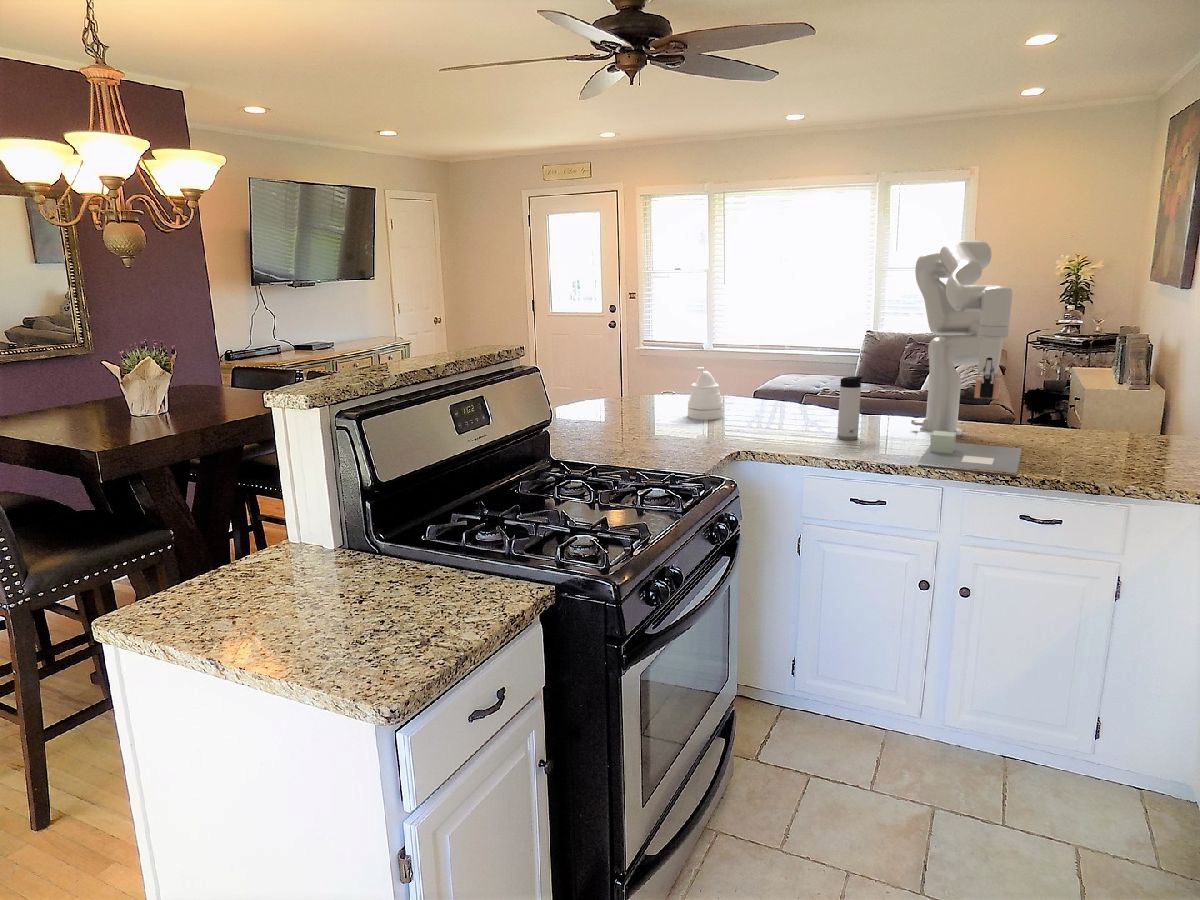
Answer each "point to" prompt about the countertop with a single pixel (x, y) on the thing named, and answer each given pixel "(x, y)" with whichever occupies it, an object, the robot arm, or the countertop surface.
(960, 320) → the robot arm
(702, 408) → the honey pot
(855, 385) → the travel mug
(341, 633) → the countertop surface
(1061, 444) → the countertop surface
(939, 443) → the sage brick
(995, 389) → the terracotta brick
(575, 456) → the countertop surface
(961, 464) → the baseplate
